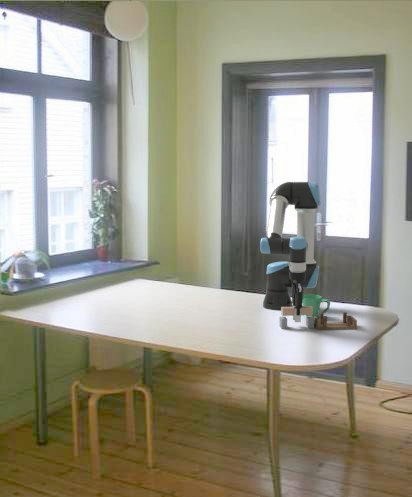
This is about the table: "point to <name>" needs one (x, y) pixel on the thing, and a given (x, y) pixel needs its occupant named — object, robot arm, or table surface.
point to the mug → (314, 303)
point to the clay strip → (291, 311)
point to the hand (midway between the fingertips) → (296, 320)
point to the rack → (335, 323)
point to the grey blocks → (308, 322)
